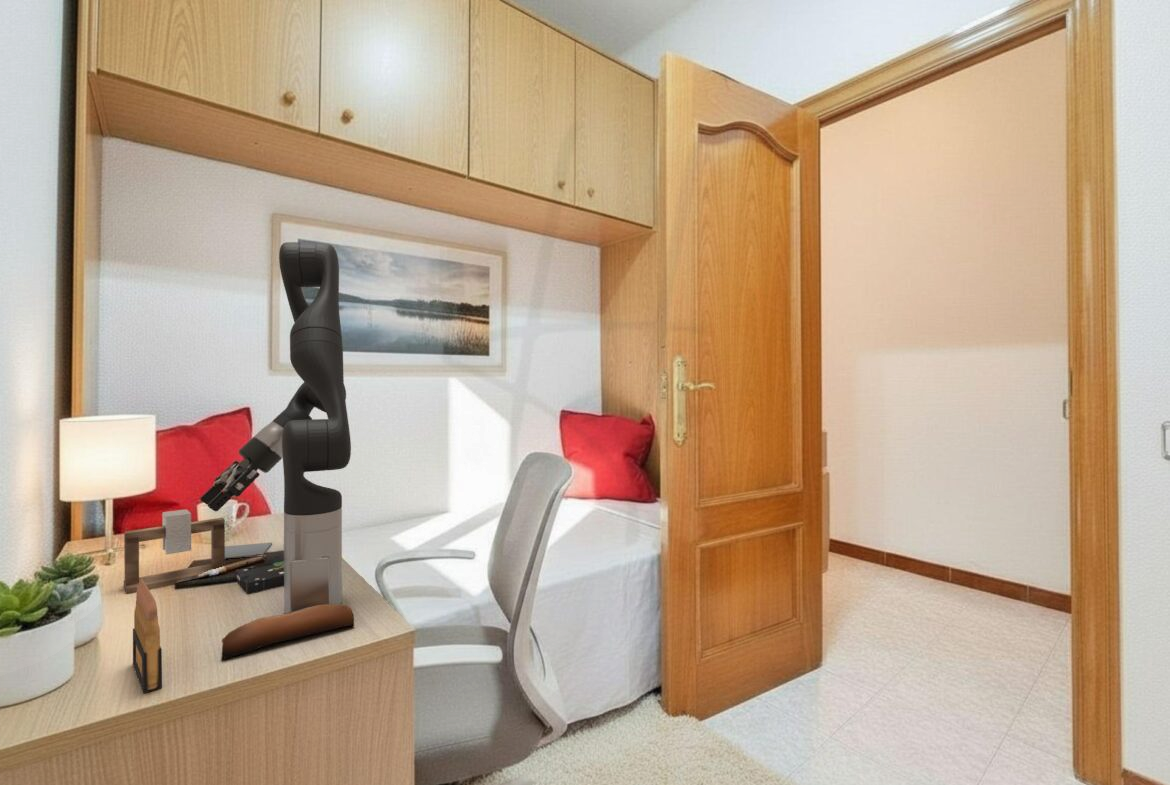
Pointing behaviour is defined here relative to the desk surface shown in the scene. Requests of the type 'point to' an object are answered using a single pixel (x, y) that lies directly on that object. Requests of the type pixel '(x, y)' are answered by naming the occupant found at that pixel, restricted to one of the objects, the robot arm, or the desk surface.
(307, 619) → the sunglasses case
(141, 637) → the ammunition clip
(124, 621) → the desk surface
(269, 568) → the disk drive
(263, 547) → the slate mat
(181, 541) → the pale grey upright block
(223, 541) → the stand
